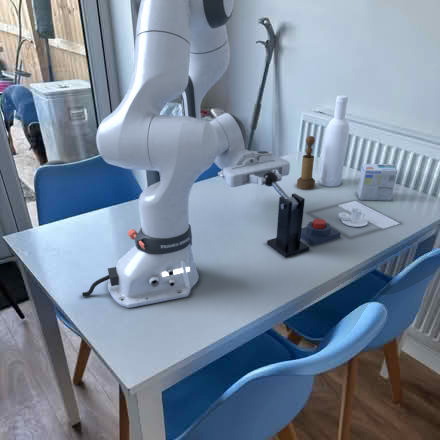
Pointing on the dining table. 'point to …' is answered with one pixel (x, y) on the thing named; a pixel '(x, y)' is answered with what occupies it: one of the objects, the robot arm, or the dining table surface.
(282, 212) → the switch bracket
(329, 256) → the dining table surface
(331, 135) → the bottle
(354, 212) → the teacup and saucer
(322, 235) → the button housing
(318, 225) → the button
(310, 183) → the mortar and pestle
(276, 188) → the lever
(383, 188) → the light bulb box
